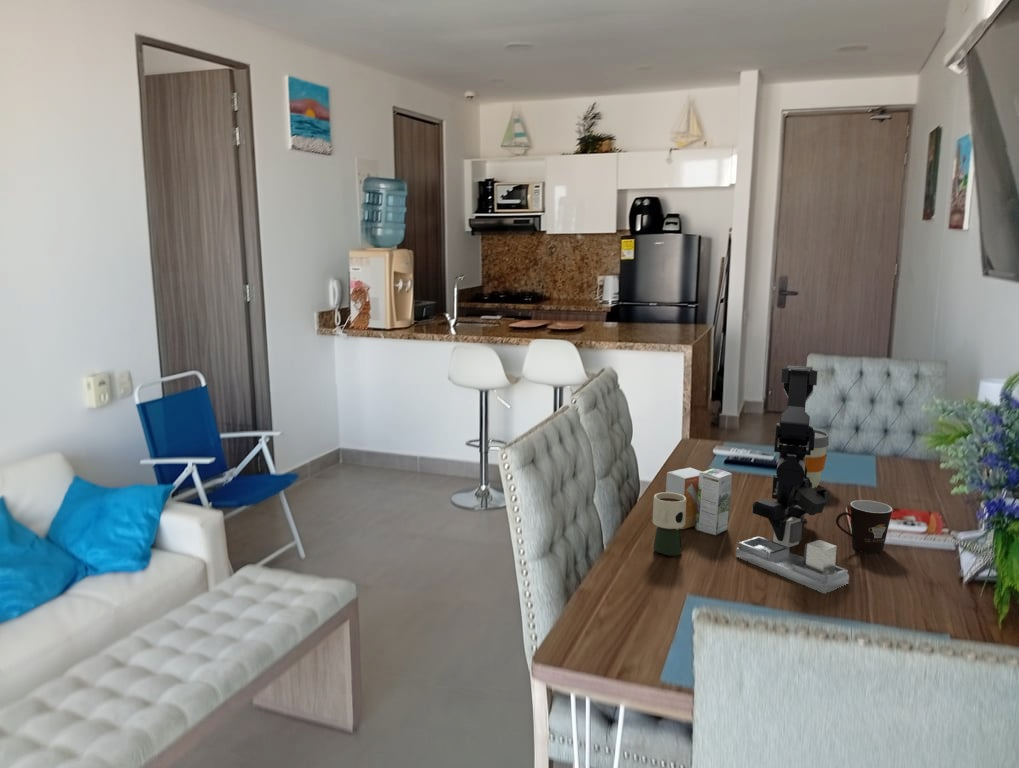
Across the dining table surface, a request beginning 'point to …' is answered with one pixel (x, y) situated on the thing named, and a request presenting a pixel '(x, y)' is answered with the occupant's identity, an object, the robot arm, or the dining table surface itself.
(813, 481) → the reusable coffee cup
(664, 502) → the character mug
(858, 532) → the coffee mug
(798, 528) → the light grey upright block
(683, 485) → the small box
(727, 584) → the dining table surface
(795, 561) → the rail
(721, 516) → the syrup box
